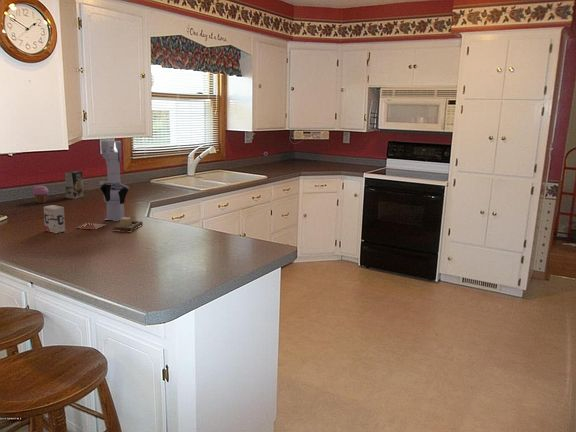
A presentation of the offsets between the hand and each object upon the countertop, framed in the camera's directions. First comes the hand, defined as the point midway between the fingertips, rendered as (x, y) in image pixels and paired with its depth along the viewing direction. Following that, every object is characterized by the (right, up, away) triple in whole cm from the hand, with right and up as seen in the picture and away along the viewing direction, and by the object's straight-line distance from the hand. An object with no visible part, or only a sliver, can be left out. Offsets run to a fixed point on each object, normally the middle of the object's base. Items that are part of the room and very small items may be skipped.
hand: (115, 202), depth 223 cm
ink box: (-25, -14, -6) cm, 30 cm away
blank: (+3, -12, +6) cm, 14 cm away
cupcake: (-64, +1, +55) cm, 85 cm away
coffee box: (-53, +5, +75) cm, 92 cm away
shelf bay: (+4, -12, +6) cm, 14 cm away
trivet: (-13, -12, +5) cm, 18 cm away
